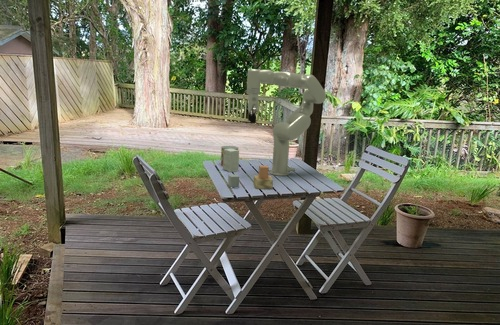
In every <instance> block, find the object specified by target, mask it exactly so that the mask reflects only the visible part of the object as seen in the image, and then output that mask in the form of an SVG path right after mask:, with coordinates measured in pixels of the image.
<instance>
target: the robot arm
mask: <svg viewBox="0 0 500 325" xmlns="http://www.w3.org/2000/svg"><path fill="white" fill-rule="evenodd" d="M261 84H267V85H274V86H279V87H285V88H286V87H287V88H292V89H293V88H295V89H303V90H304V91H303V93H302V103H301V105H300V106H299V107H297V109H295V110H294V111H293V112H291V113H290V114H289V115H288V117H287V119H286V121H287V122H282V121H281V122H278V123H276V124H275V125H274V126H273V129H272V133H273V134H272V136H273V149H272V150H273V151H272V165H271V167H272V168H271V169H269V172H268V174H270V175H273V176H279V177H280V176H281V177H283V176H285V177H286V176H288V175H290V174H291V172H295V171H296V167H289V156H290V155H289V154H290V142H291V141H294V140H296V139H297V138H299V137H300V136H301V135H302V134H303V133H304V132H306V131H307V130H308V129H309V127H310V125H311V122H312V119H311V115H312V114H313V112H314V104H317V105H319V104H323V103H324V102H325V101H326V99H327V94H326V91H325V89H324V87H322V85H321V83H320V82H319V80H318V79H317V78H316V77H315V75H313V74H305V73H304V74H302V73H296V72H291V71H290V72H289V71H273V70H271V69H257V68H256V69H255V68H253V69H252V68H251V69H250V68H249V69H248V70H247V80H246V94H247V95H248V102H247V103H248V104H247V110H248V116H247V121H248V122H250V123H251V124H256V122H257V113H258V112H259V95H261ZM289 141H290V142H289Z"/></svg>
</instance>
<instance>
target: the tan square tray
mask: <svg viewBox="0 0 500 325" xmlns="http://www.w3.org/2000/svg"><path fill="white" fill-rule="evenodd" d="M273 185H274V179H273V178H272V176H271V174H270V175H269V174H268V178H259V174H254V175H253V186H254V188H255V189H257V190H258V189H260V190H266V189H267V190H272V189H273Z"/></svg>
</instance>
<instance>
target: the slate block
mask: <svg viewBox="0 0 500 325" xmlns="http://www.w3.org/2000/svg"><path fill="white" fill-rule="evenodd" d="M227 186H228V187H229V188H230V187H238V188H240V176H239V175H238V174H228V179H227Z"/></svg>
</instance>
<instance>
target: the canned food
mask: <svg viewBox="0 0 500 325" xmlns="http://www.w3.org/2000/svg"><path fill="white" fill-rule="evenodd" d="M220 149H221V150H220V151H221V154H220V166H221V167H223V159H224V149H235V150H238V151H239V146H236V145H235V146H233V145H222V146H221V147H220Z"/></svg>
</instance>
